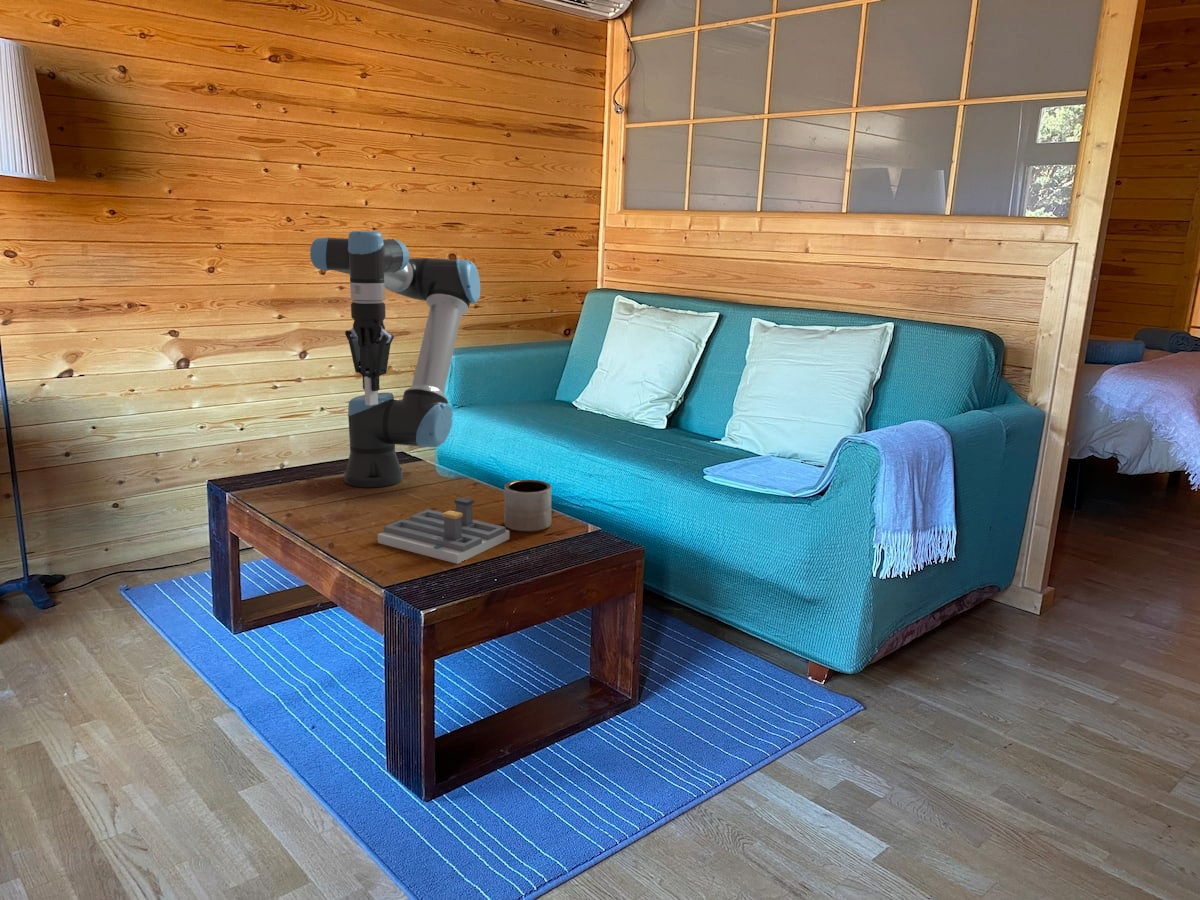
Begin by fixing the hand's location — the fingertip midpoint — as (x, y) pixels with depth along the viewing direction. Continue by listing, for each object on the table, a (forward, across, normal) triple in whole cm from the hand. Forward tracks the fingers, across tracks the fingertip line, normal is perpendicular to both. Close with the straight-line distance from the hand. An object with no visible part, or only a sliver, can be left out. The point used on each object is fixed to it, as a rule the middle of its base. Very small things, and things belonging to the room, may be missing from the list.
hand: (371, 404), depth 210 cm
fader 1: (+24, +32, -10) cm, 41 cm away
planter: (+27, +35, +13) cm, 46 cm away
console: (+26, +26, -6) cm, 38 cm away
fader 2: (+24, +28, -2) cm, 37 cm away
